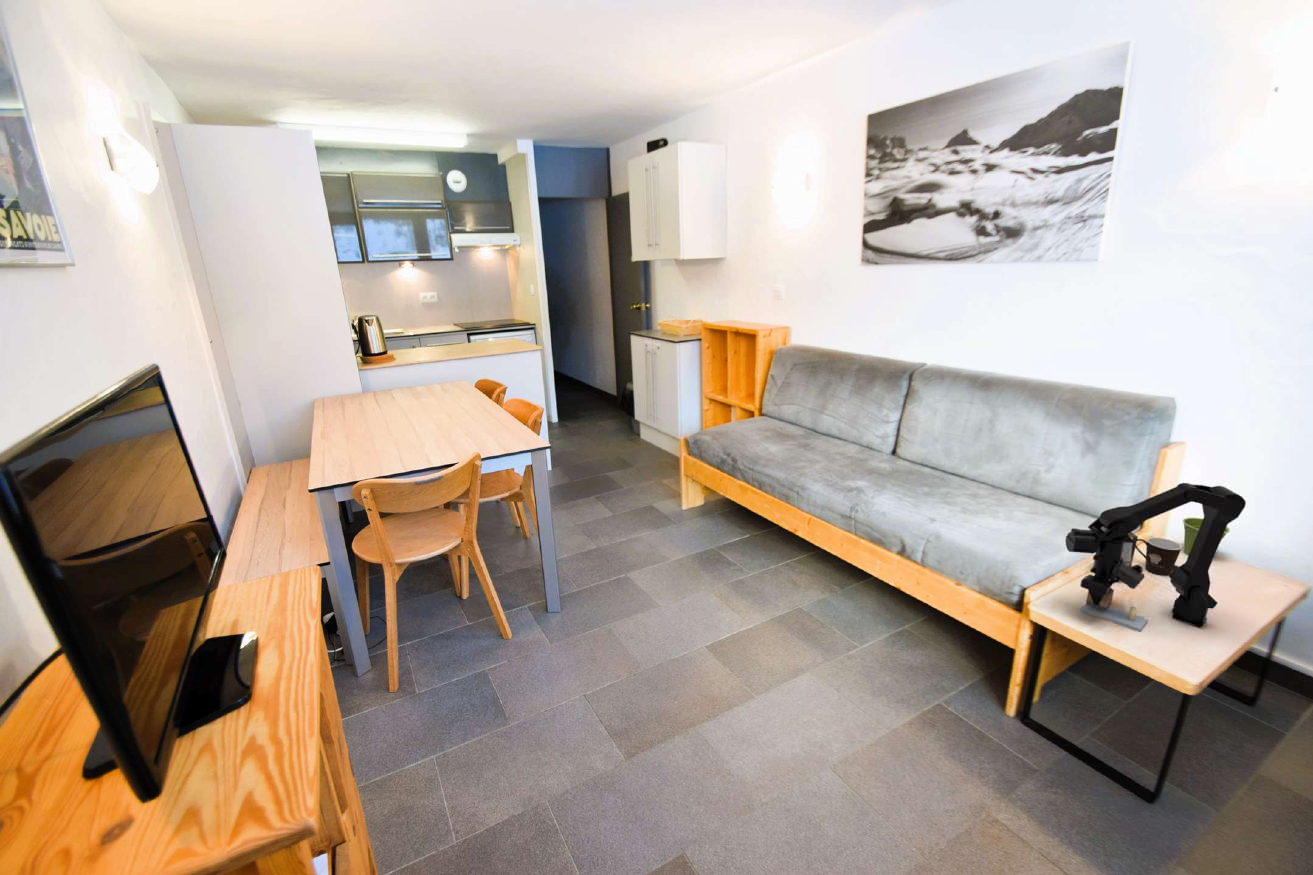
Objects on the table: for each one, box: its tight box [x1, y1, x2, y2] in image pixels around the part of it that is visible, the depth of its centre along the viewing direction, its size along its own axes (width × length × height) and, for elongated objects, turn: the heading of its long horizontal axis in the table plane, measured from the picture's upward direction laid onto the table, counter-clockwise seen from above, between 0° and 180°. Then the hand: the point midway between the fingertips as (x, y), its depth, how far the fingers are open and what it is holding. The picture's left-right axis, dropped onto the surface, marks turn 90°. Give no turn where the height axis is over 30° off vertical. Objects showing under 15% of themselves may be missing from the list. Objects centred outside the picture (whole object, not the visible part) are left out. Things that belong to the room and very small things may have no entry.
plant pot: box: [1182, 517, 1231, 555], centre depth 198 cm, size 12×12×11 cm
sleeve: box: [1085, 588, 1115, 611], centre depth 170 cm, size 5×5×5 cm
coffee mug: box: [1135, 537, 1183, 577], centre depth 191 cm, size 12×9×10 cm
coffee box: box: [1092, 527, 1139, 583], centre depth 188 cm, size 9×6×16 cm
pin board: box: [1080, 603, 1149, 633], centre depth 168 cm, size 14×7×4 cm, turn 38°
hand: (1099, 601), depth 171 cm, fingers closed on sleeve, 5 cm apart
